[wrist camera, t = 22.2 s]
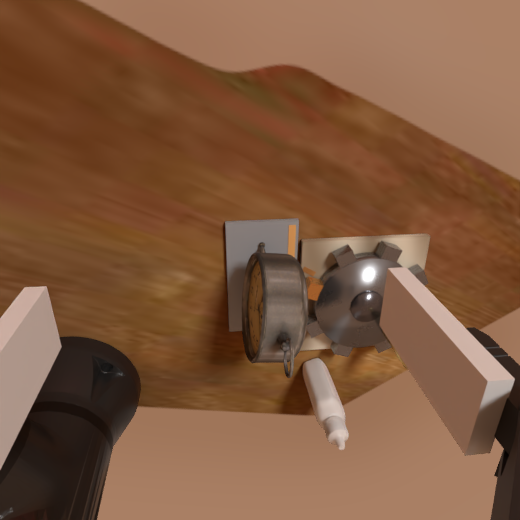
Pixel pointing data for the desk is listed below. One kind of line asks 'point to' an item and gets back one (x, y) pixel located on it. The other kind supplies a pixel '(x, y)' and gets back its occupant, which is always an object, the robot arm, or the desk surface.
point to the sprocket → (354, 298)
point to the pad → (244, 245)
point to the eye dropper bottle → (325, 401)
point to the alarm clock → (274, 308)
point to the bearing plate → (321, 258)
